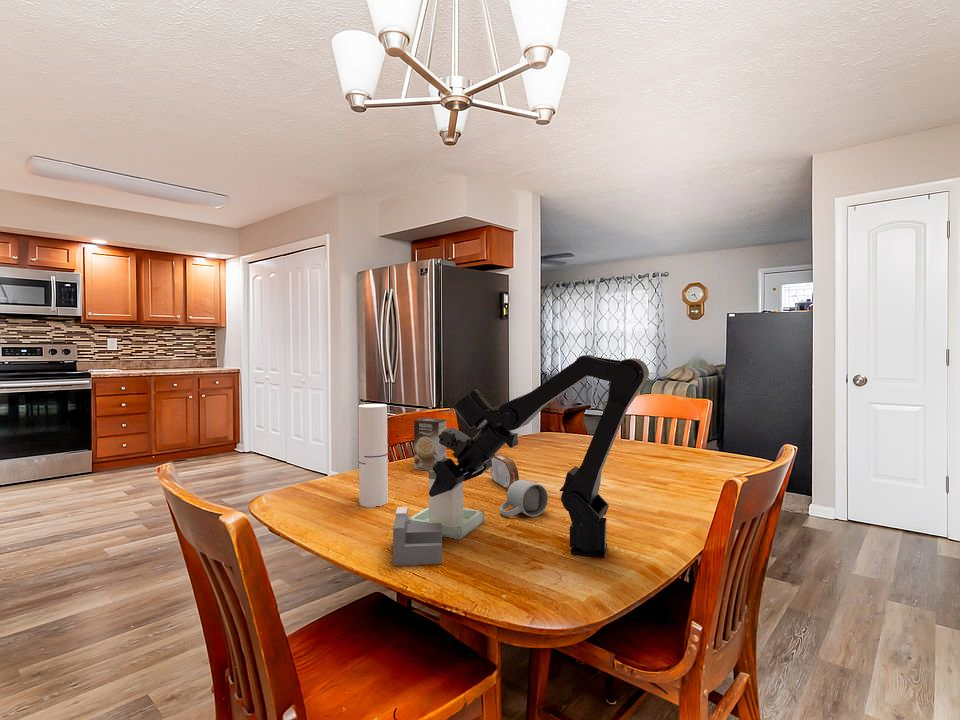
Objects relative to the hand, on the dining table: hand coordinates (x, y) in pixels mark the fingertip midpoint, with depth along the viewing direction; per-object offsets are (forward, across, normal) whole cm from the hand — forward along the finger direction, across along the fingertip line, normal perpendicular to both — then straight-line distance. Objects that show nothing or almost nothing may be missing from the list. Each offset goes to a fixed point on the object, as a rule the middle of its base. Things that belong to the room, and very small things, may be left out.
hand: (440, 489), depth 119 cm
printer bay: (+3, +15, +8) cm, 17 cm away
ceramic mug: (-4, -16, +16) cm, 22 cm away
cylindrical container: (+22, -7, -11) cm, 26 cm away
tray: (+5, 0, +7) cm, 8 cm away
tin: (+6, -36, +6) cm, 37 cm away
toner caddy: (+4, 0, +6) cm, 8 cm away
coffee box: (+26, -45, -15) cm, 54 cm away
